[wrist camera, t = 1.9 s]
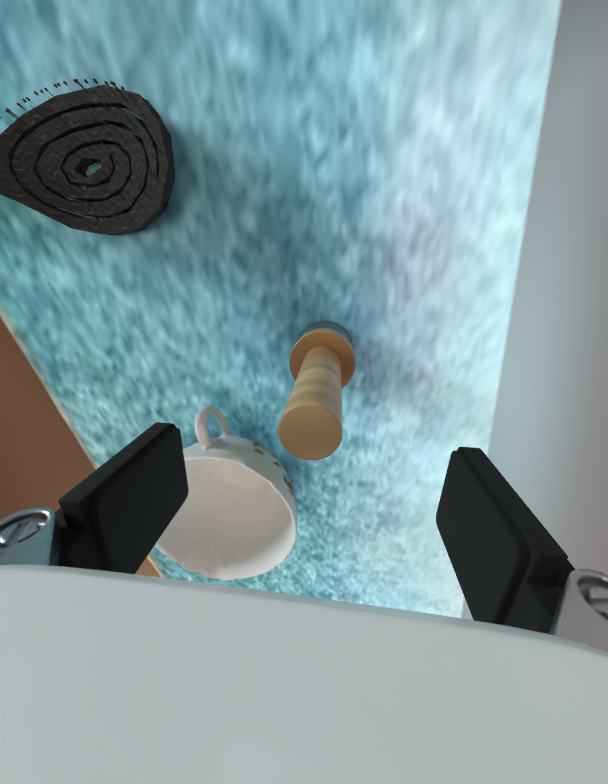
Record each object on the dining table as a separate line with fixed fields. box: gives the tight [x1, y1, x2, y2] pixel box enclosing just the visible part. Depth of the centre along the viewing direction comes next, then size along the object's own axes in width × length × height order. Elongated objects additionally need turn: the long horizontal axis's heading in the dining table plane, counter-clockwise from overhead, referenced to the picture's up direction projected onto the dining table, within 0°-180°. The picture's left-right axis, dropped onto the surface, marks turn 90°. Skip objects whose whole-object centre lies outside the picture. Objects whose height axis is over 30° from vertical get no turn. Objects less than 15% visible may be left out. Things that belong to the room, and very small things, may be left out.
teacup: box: [155, 405, 297, 581], centre depth 26 cm, size 15×12×8 cm
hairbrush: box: [0, 79, 175, 235], centre depth 21 cm, size 8×4×25 cm
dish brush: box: [278, 321, 355, 460], centre depth 18 cm, size 5×5×14 cm
